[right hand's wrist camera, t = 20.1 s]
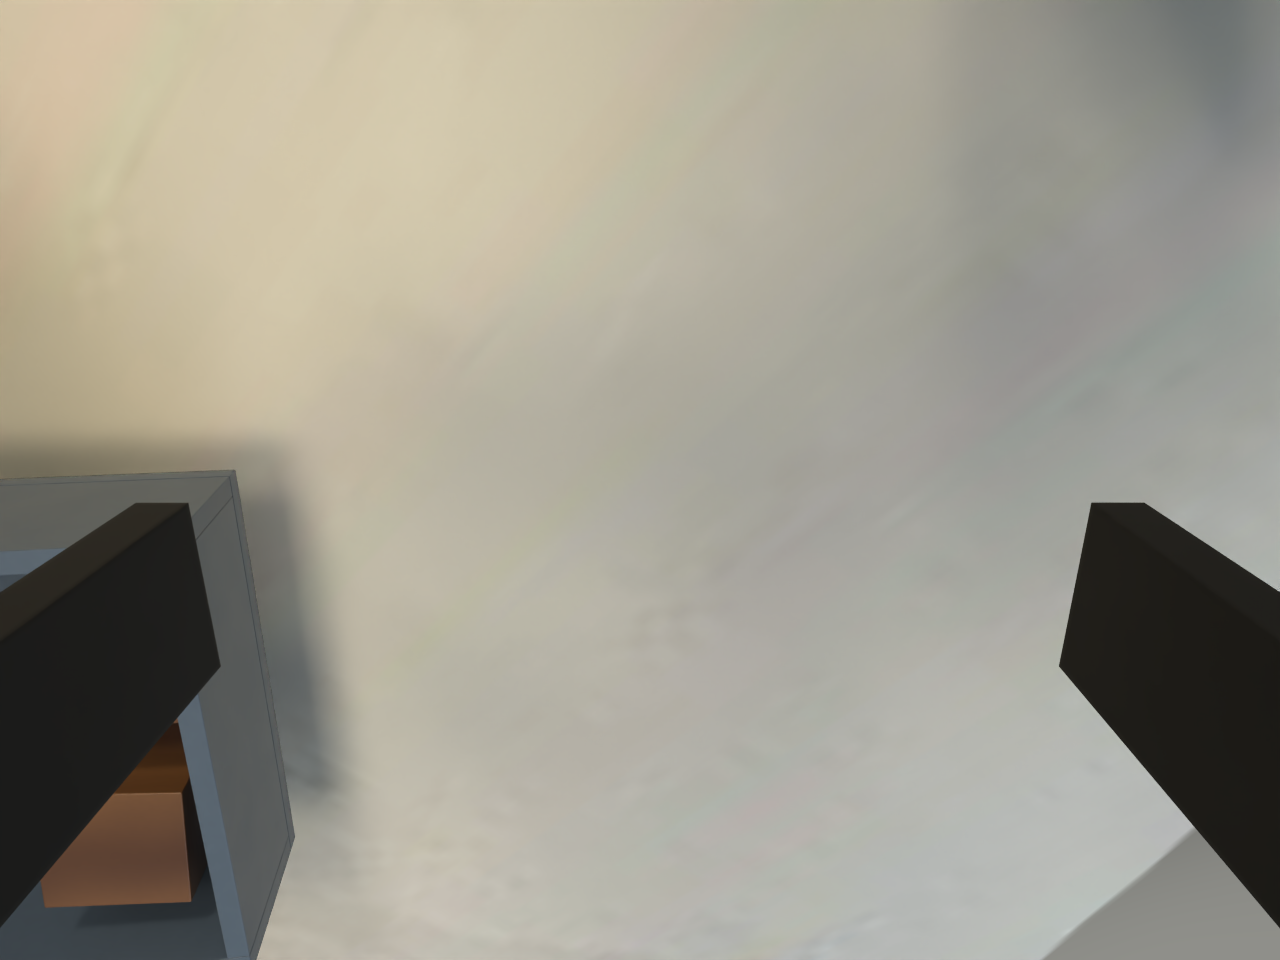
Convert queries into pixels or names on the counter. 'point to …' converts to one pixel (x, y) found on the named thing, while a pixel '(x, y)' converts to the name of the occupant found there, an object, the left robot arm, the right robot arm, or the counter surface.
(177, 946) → the tray
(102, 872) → the walnut block
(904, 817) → the counter surface
